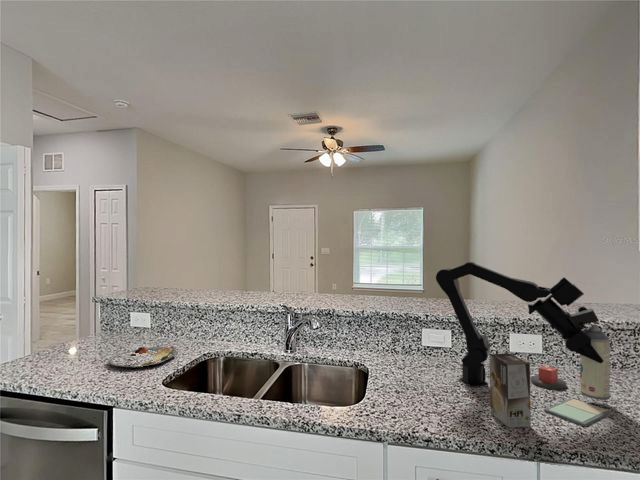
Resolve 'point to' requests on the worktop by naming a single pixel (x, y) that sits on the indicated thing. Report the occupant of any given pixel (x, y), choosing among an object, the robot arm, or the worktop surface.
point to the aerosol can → (596, 367)
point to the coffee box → (510, 390)
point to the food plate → (160, 355)
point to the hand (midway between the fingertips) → (600, 358)
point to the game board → (577, 411)
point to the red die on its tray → (551, 386)
